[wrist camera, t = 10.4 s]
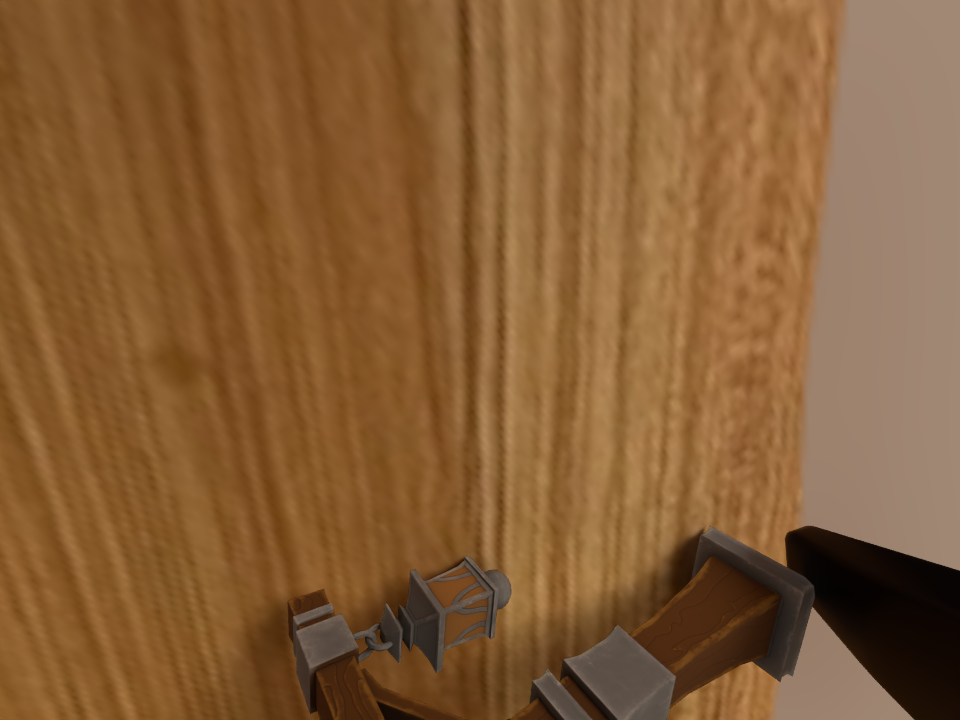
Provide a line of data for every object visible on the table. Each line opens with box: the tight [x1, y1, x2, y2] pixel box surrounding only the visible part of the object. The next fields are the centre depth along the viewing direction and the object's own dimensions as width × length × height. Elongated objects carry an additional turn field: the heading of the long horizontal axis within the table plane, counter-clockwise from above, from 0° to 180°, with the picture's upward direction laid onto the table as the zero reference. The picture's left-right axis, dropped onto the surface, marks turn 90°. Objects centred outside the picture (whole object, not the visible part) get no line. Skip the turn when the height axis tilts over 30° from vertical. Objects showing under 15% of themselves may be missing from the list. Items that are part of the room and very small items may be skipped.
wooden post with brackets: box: [288, 526, 815, 720], centre depth 7 cm, size 2×8×4 cm, turn 86°
